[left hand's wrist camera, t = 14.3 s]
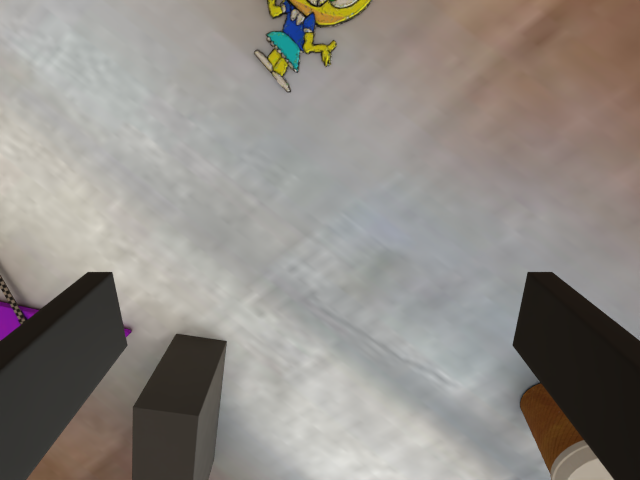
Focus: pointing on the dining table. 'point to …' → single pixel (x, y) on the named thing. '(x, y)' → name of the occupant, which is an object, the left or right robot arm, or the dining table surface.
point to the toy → (304, 32)
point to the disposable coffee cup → (559, 439)
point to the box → (179, 412)
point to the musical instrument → (16, 313)
